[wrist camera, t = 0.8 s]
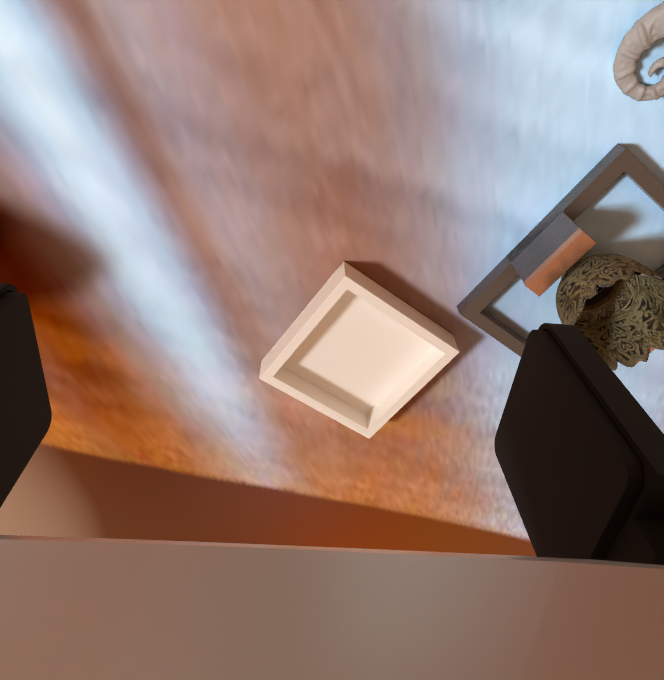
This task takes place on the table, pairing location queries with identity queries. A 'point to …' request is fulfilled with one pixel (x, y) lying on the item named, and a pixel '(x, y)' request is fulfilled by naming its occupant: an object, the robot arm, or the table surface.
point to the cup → (614, 307)
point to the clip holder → (555, 243)
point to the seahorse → (638, 39)
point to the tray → (357, 352)
